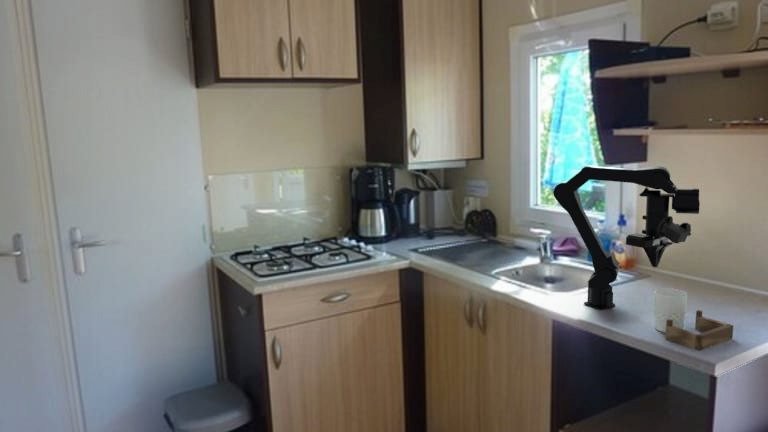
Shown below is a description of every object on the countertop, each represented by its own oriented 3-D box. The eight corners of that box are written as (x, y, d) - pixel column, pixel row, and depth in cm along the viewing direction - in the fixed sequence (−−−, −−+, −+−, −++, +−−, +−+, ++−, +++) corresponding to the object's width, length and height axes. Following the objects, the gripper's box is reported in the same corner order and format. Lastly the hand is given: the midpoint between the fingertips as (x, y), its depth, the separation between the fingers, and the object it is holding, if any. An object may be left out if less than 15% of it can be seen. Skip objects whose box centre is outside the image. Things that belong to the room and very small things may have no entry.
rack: (665, 339, 148) (666, 320, 147) (697, 328, 155) (699, 309, 154) (699, 350, 140) (700, 330, 140) (732, 338, 147) (733, 319, 146)
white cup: (645, 327, 156) (646, 291, 155) (664, 321, 160) (666, 286, 158) (672, 336, 150) (674, 298, 148) (691, 330, 153) (693, 293, 152)
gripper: (662, 220, 152) (659, 278, 155) (705, 212, 161) (702, 267, 164) (625, 214, 162) (623, 269, 164) (668, 207, 171) (665, 259, 174)
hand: (654, 266), depth 166 cm, fingers closed
